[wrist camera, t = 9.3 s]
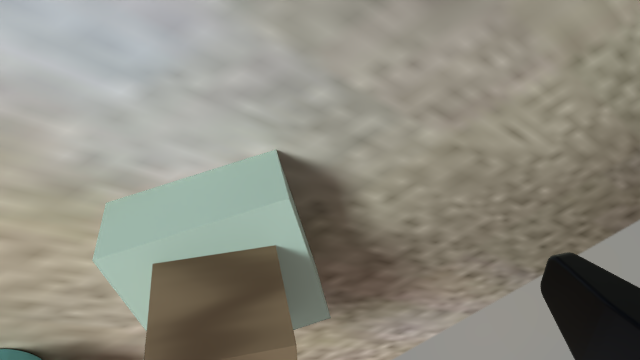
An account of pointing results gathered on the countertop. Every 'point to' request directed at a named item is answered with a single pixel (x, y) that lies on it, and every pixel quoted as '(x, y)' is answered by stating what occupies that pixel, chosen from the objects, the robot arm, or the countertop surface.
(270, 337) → the walnut cube
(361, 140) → the countertop surface
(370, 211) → the countertop surface
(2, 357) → the cupcake
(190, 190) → the sage block
